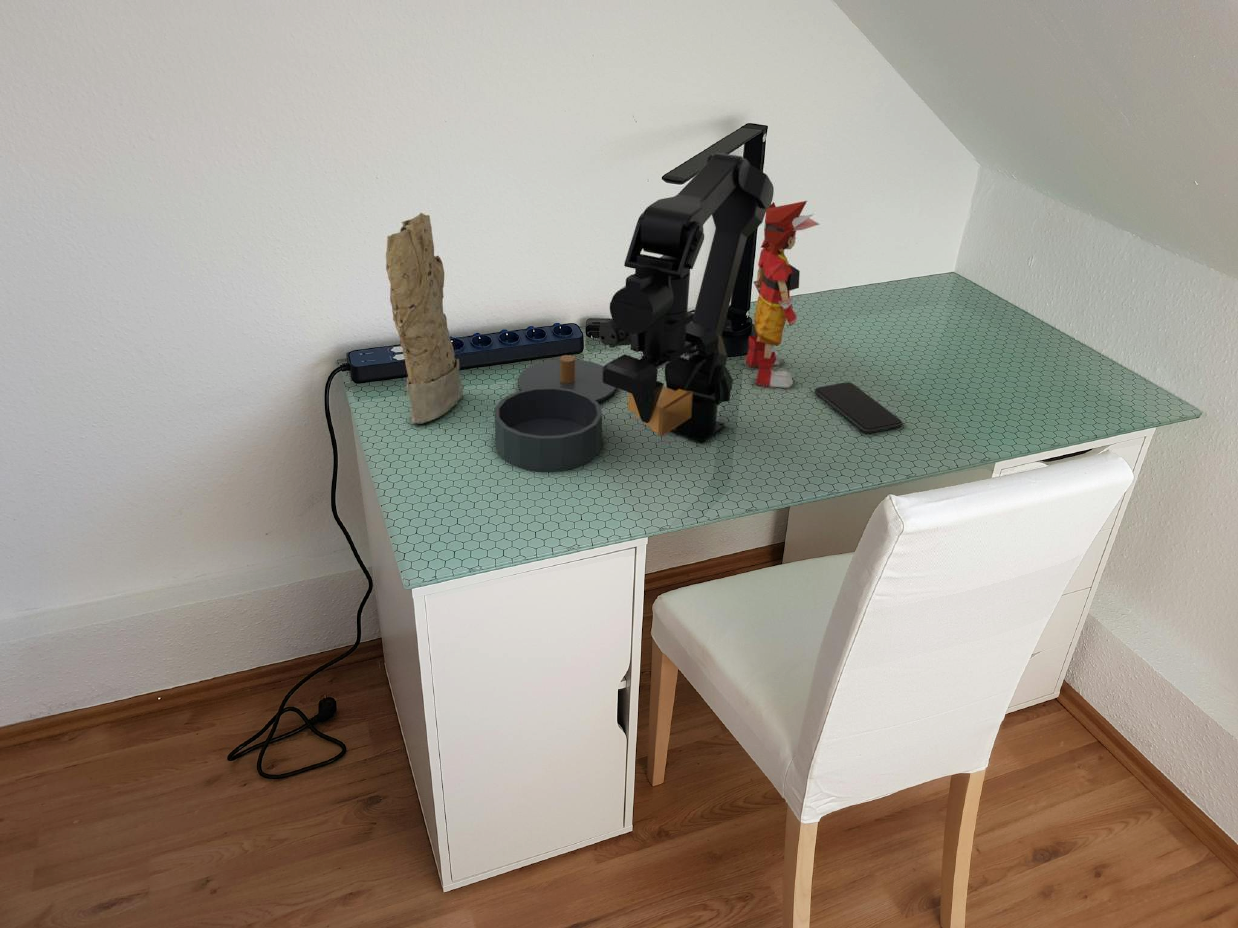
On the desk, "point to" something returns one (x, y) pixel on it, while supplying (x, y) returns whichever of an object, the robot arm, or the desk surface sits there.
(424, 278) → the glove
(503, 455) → the pan
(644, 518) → the desk surface
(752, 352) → the toy
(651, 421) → the tan stepped block
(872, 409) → the smartphone
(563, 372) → the pan lid
